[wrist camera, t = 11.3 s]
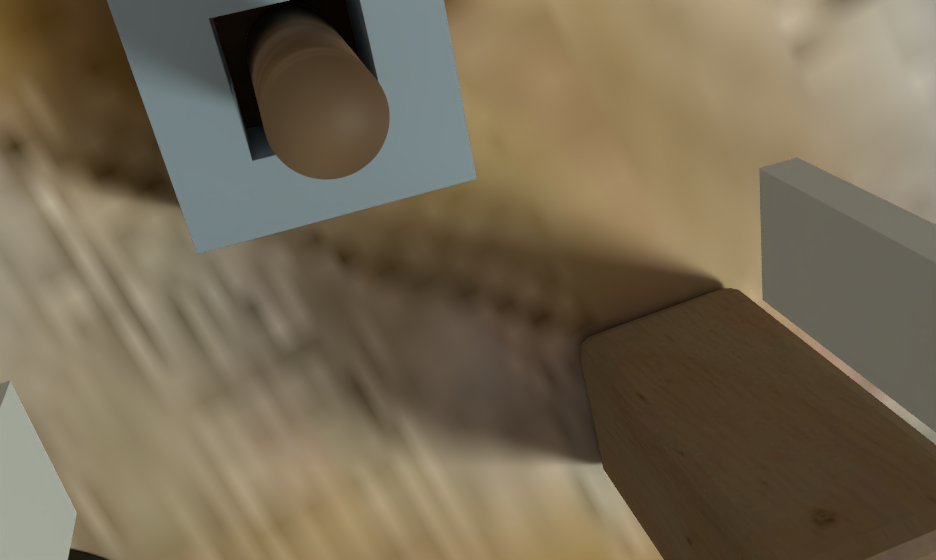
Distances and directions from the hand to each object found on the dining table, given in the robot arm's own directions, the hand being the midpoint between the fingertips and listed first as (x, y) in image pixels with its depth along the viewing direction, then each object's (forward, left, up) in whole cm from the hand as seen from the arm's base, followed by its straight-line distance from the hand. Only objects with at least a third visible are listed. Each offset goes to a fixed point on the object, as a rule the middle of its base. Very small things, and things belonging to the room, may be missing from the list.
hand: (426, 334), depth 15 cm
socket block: (0, 0, -27) cm, 27 cm away
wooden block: (+16, -23, -27) cm, 39 cm away
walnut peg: (0, 0, -27) cm, 27 cm away
